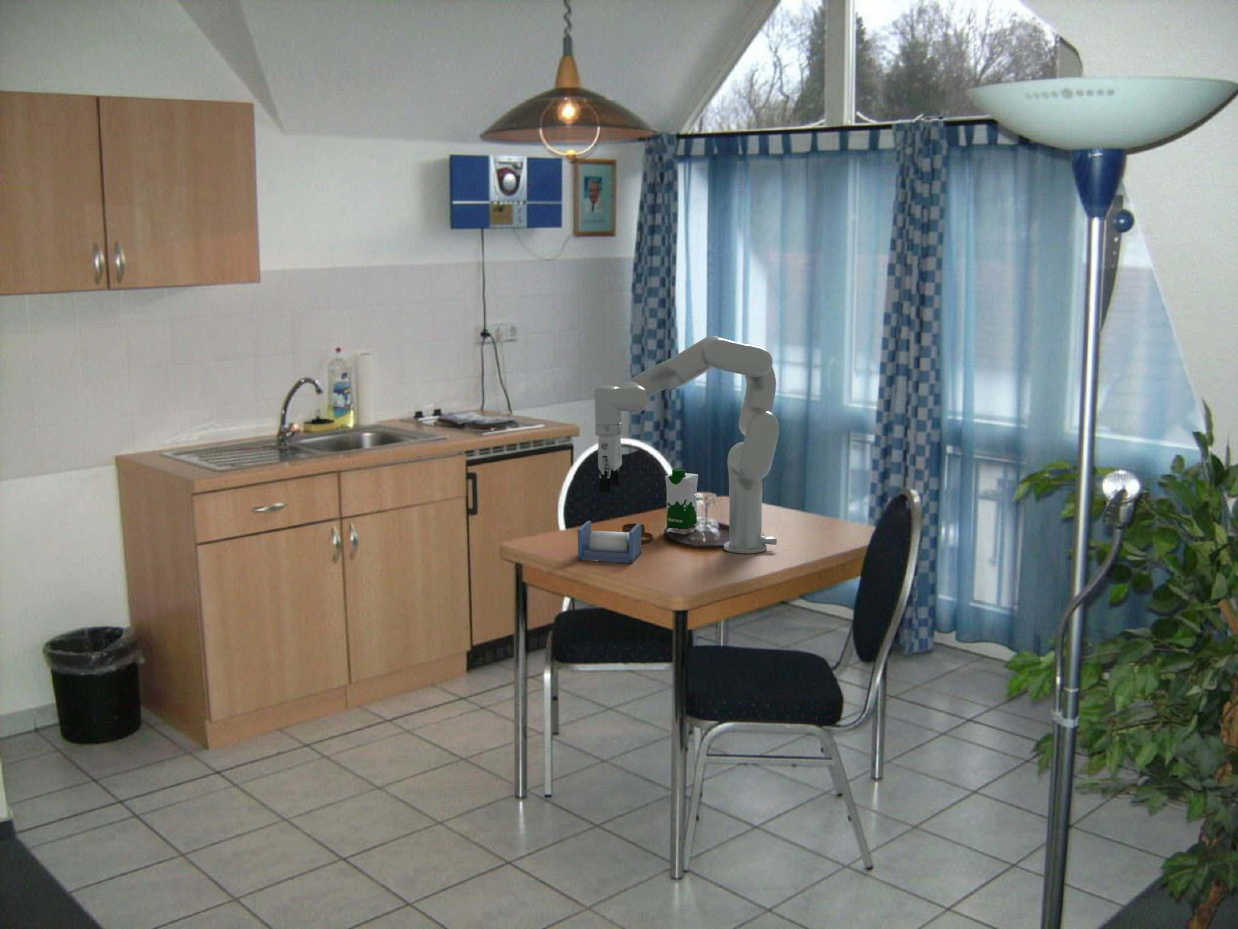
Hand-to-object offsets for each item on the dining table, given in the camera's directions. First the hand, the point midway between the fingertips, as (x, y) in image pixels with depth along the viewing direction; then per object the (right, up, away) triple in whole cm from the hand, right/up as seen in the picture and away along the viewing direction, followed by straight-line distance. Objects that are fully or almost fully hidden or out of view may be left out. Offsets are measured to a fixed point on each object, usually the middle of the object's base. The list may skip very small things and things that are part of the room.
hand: (609, 488), depth 363 cm
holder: (0, -20, +4) cm, 20 cm away
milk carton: (+22, -14, +32) cm, 41 cm away
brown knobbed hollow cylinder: (+5, -17, +20) cm, 27 cm away
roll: (0, -19, +4) cm, 19 cm away
